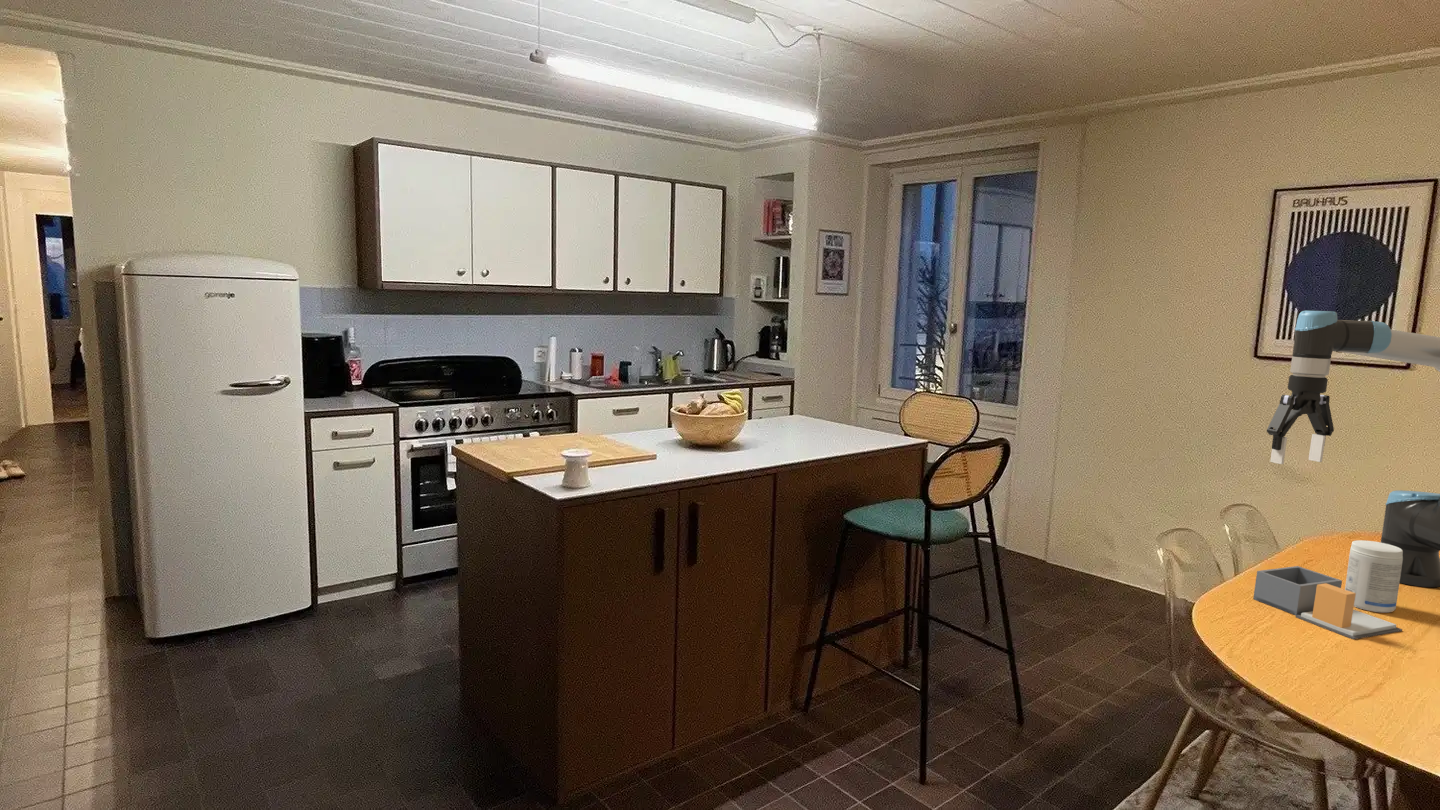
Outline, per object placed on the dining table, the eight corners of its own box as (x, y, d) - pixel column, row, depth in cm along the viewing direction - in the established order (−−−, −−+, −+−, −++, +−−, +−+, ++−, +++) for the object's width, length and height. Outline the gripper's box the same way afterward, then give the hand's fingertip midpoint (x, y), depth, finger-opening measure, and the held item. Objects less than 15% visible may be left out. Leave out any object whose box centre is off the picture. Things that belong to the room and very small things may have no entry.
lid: (1343, 609, 182) (1348, 574, 181) (1395, 628, 172) (1401, 591, 171) (1300, 616, 177) (1306, 580, 176) (1352, 636, 167) (1358, 598, 166)
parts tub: (1293, 593, 192) (1297, 565, 191) (1337, 609, 183) (1342, 580, 182) (1253, 599, 188) (1257, 570, 187) (1296, 615, 178) (1300, 586, 177)
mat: (1342, 609, 183) (1343, 608, 183) (1402, 631, 172) (1402, 629, 172) (1295, 617, 177) (1295, 615, 177) (1353, 639, 166) (1353, 637, 166)
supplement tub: (1401, 609, 185) (1411, 548, 183) (1386, 617, 179) (1396, 555, 177) (1351, 595, 193) (1360, 537, 191) (1335, 602, 187) (1344, 542, 185)
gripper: (1327, 373, 197) (1314, 456, 200) (1256, 373, 189) (1245, 460, 192) (1360, 377, 190) (1346, 463, 193) (1288, 377, 182) (1275, 467, 185)
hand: (1296, 462), depth 192 cm, fingers open, 13 cm apart
